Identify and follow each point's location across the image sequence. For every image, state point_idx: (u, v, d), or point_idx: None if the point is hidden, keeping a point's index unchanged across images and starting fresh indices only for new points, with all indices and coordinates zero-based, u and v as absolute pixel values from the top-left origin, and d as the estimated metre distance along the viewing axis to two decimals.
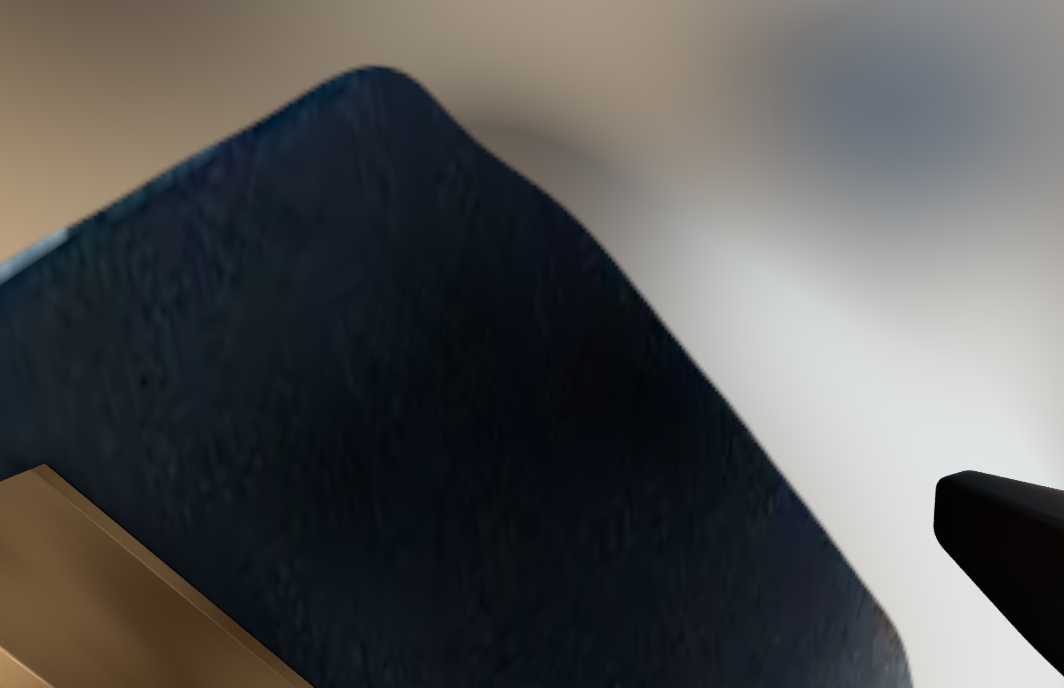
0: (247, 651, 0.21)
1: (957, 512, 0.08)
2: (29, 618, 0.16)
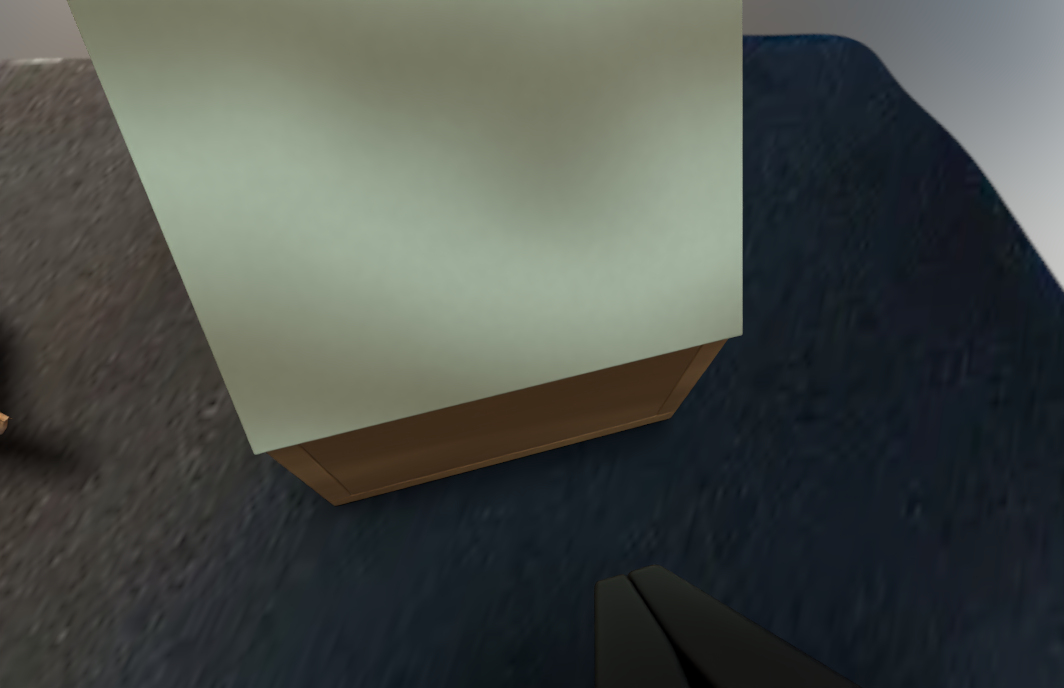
0: None
1: None
2: None
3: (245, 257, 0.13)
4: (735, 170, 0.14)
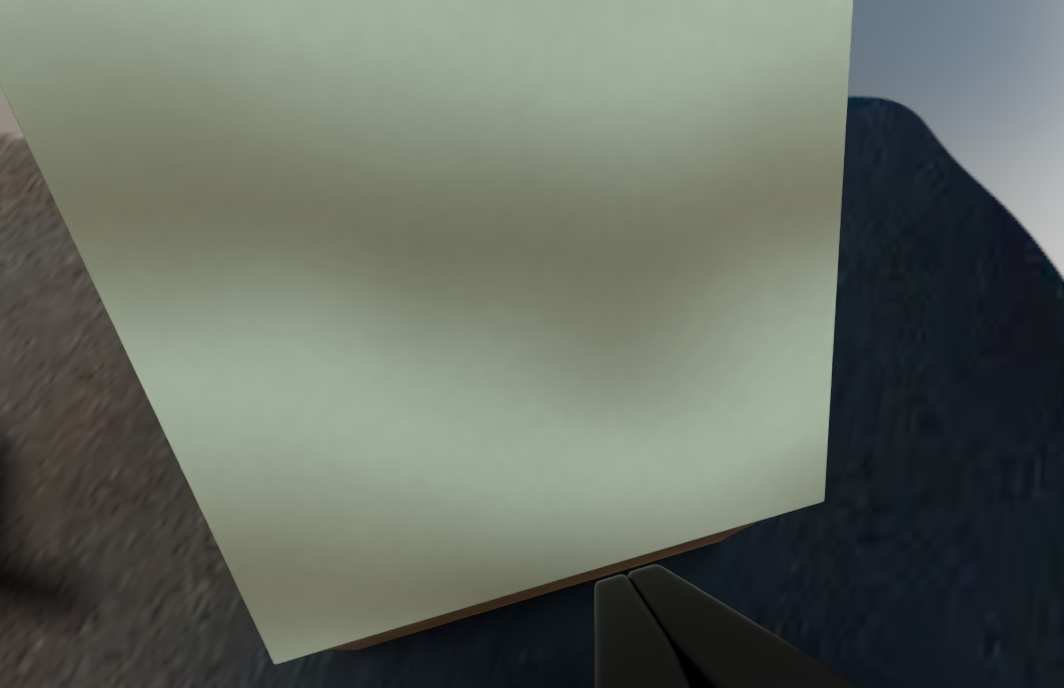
0: None
1: None
2: None
3: (266, 465, 0.11)
4: (826, 335, 0.12)
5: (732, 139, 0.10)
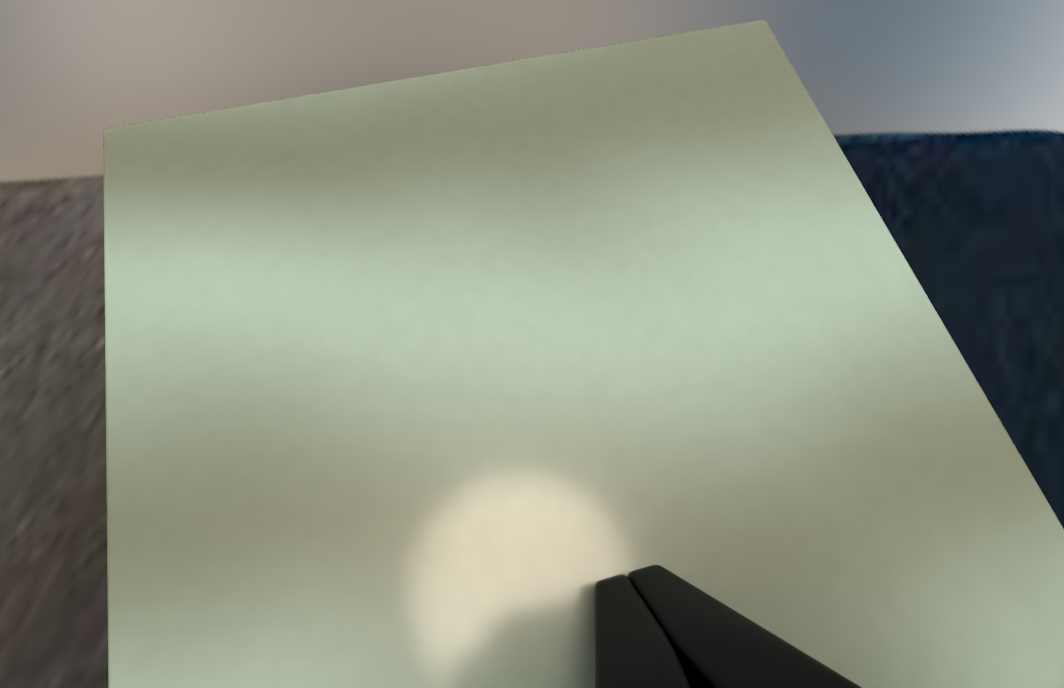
0: None
1: None
2: None
3: None
4: None
5: (844, 403, 0.09)
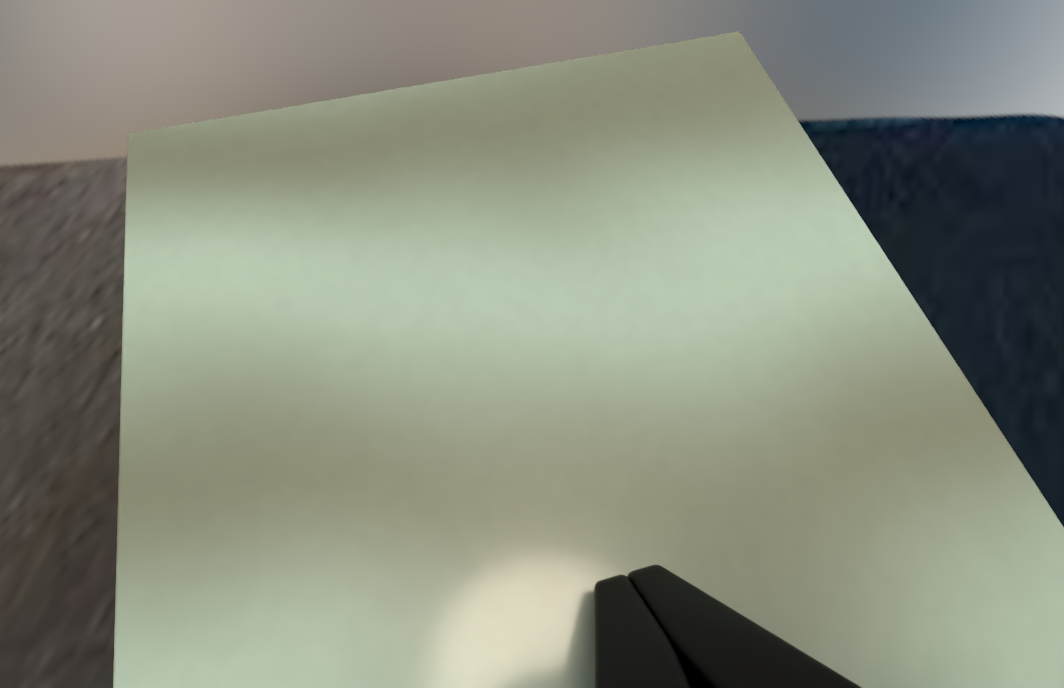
0: None
1: None
2: None
3: None
4: None
5: (819, 370, 0.10)
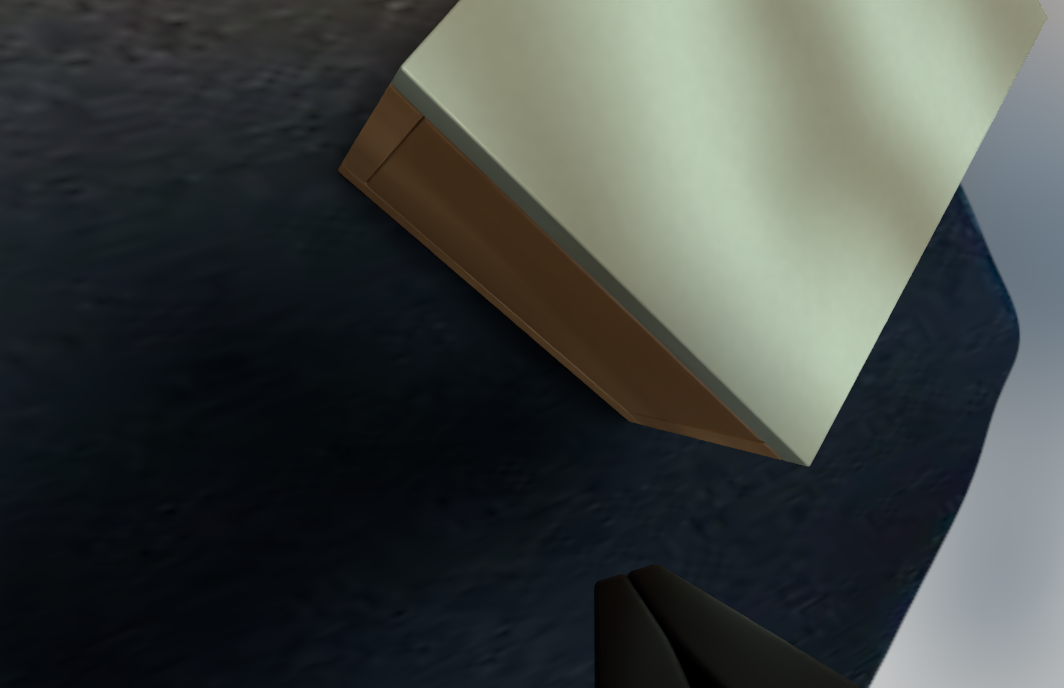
0: None
1: None
2: None
3: None
4: (880, 321, 0.16)
5: (909, 148, 0.16)
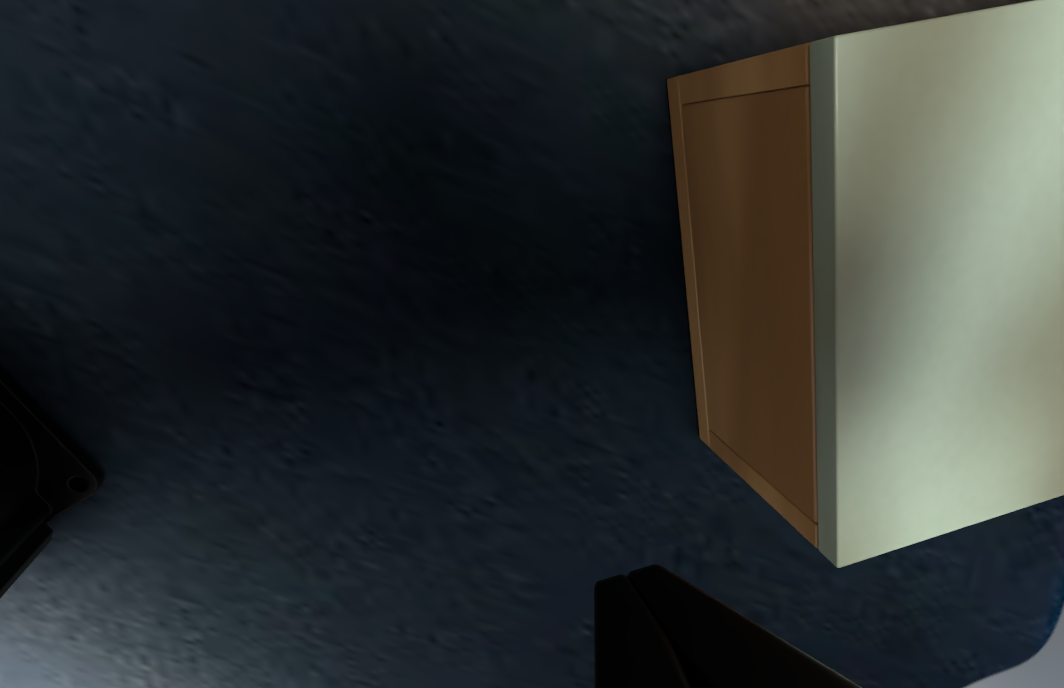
0: None
1: None
2: None
3: (1031, 71, 0.13)
4: (981, 516, 0.16)
5: None
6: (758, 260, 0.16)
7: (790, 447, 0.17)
